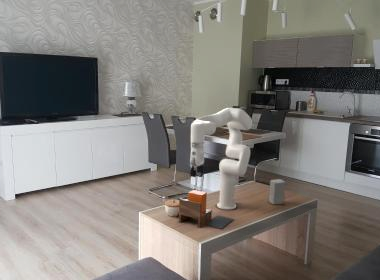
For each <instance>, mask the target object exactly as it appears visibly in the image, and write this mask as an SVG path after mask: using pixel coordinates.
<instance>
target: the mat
mask: <svg viewBox="0 0 380 280" xmlns="http://www.w3.org/2000/svg"><path fill="white" fill-rule="evenodd" d="M233 221H234V218H229V217H225V216H221V215H217V216H216V217H214V218H213V219H211V220H210V221H209V222H207V223H206V224H205V226H208V227H211V228H215V229H220V230H222V229H224V228H225V227H226V226H227V225H229V224H230V223H231V222H233Z"/></svg>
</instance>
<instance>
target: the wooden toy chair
mask: <svg viewBox="0 0 380 280" xmlns="http://www.w3.org/2000/svg"><path fill="white" fill-rule="evenodd" d="M178 200H179V214H178V222H179V223H182V222H184V221H186V220H187V219H188V218H193V219H197V227H198V228H202V227H203V226H204V225H206V224H207V223H209V222H210V221H211V220H212V218H213V217H212V216H213V215H212V213H213V210H212V209H209V208H206V211H204V212H203V213H201V208H202V203H198V202H194V201H189V200H188V199H185V198H181V197H180V198H179V199H178Z"/></svg>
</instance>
